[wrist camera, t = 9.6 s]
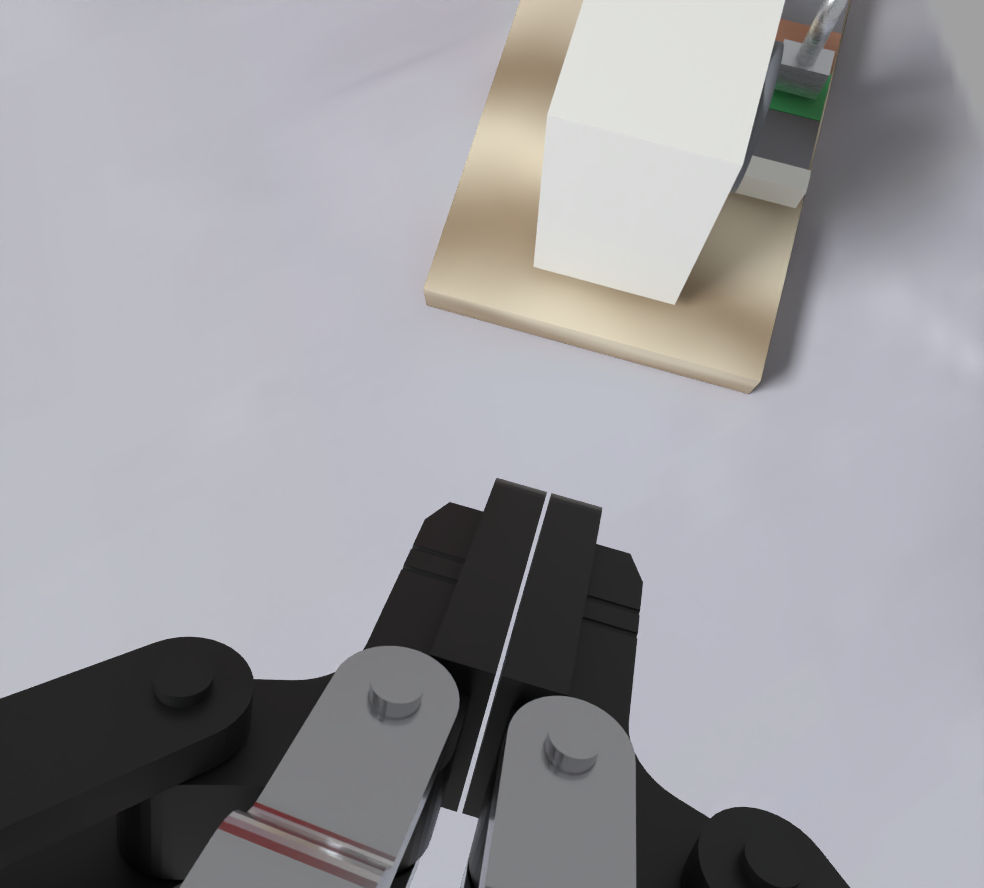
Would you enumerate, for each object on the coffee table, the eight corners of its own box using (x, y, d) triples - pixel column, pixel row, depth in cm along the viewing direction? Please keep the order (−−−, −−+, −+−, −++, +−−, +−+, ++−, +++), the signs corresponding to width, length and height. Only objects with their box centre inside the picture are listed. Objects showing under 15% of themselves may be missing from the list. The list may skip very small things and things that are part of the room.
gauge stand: (748, 394, 33) (761, 379, 31) (426, 305, 34) (423, 286, 32) (843, -1, 37) (859, -32, 35) (551, -71, 37) (554, -105, 36)
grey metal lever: (815, 99, 33) (865, 11, 29) (766, 87, 33) (808, -3, 29) (821, 76, 34) (871, -15, 29) (772, 64, 34) (815, -29, 29)
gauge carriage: (766, 329, 31) (871, 198, 22) (533, 266, 32) (547, 114, 23) (812, 139, 33) (925, -52, 24) (589, 83, 34) (622, -124, 25)
